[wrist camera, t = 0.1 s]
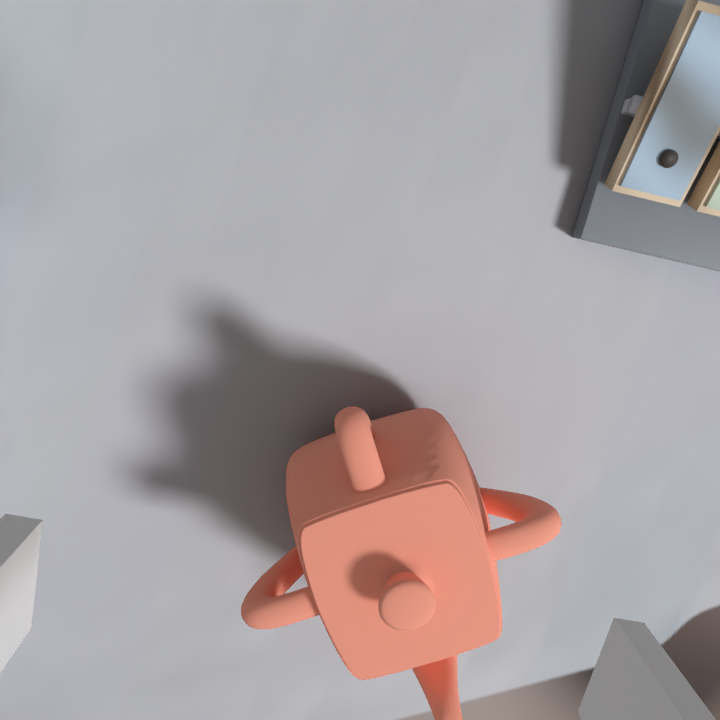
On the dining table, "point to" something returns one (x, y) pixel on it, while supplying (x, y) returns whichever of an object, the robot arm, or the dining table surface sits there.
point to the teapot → (396, 549)
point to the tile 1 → (675, 113)
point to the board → (600, 204)
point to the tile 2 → (708, 188)
